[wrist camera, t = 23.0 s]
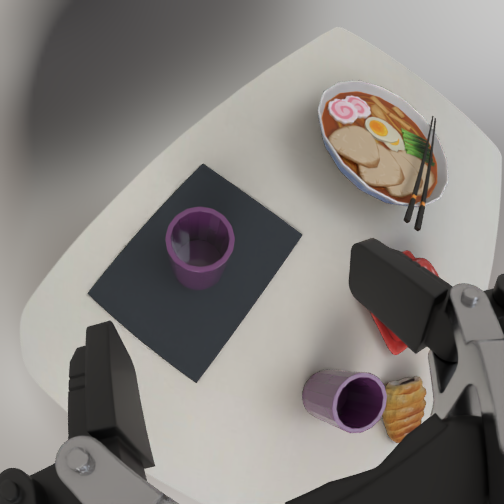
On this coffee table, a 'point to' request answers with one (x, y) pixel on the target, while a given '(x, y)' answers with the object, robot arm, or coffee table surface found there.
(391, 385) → the pastry
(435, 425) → the robot arm
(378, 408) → the plum cup side
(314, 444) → the coffee table surface
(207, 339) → the mat
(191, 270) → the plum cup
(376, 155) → the ramen bowl
